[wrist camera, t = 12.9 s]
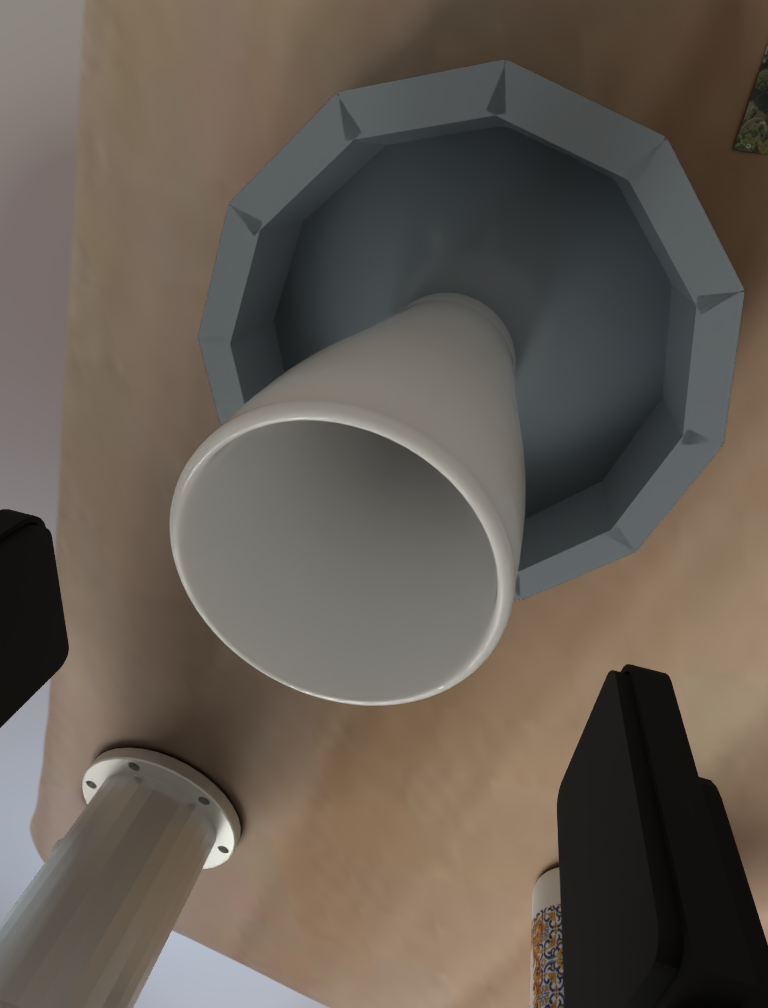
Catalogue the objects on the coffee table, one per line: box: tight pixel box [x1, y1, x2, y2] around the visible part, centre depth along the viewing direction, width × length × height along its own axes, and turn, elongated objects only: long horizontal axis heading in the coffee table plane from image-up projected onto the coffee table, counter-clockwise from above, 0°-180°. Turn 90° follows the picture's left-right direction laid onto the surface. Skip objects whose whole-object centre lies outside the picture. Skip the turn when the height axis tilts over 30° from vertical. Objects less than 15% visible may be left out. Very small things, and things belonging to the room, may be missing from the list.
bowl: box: [198, 59, 745, 600], centre depth 22 cm, size 17×17×5 cm
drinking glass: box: [169, 292, 526, 706], centre depth 17 cm, size 7×7×15 cm
